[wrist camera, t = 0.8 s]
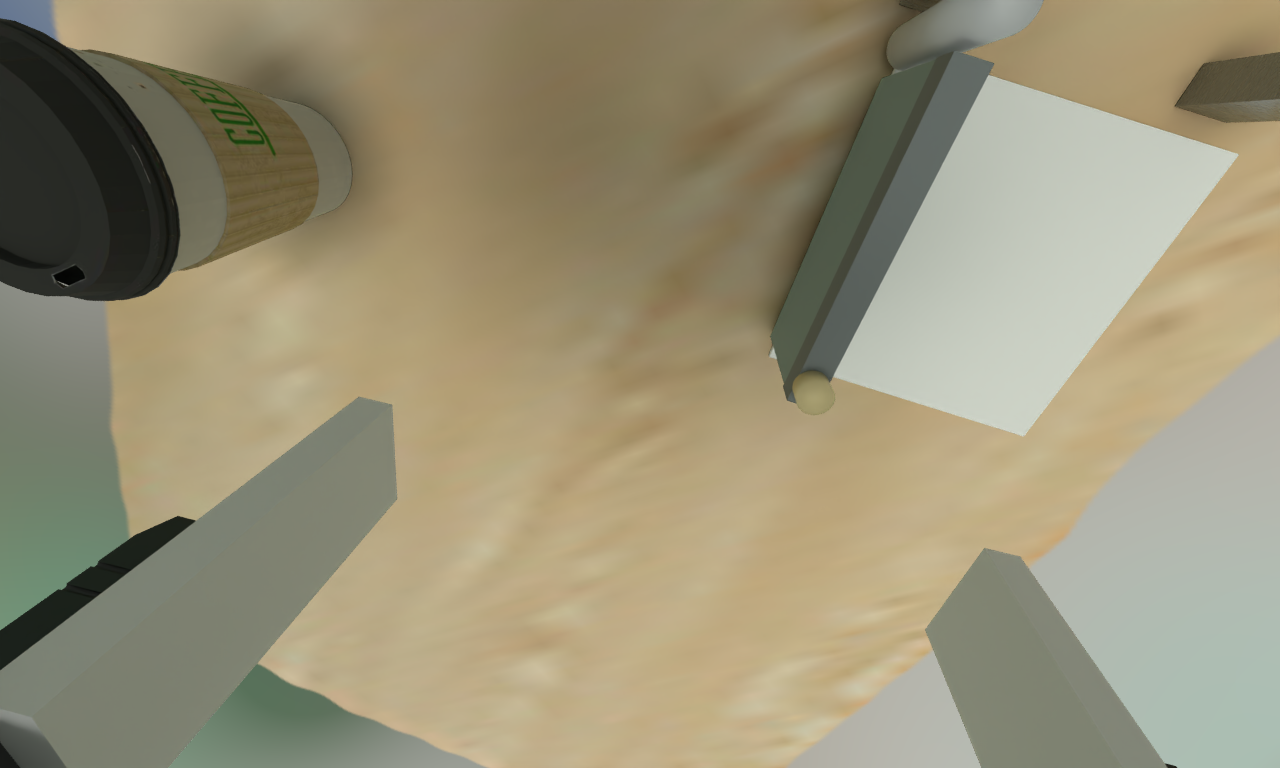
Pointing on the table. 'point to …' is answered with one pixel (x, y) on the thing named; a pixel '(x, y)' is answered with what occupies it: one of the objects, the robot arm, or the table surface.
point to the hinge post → (919, 4)
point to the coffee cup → (144, 169)
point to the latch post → (1236, 90)
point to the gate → (885, 184)
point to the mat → (1025, 253)
